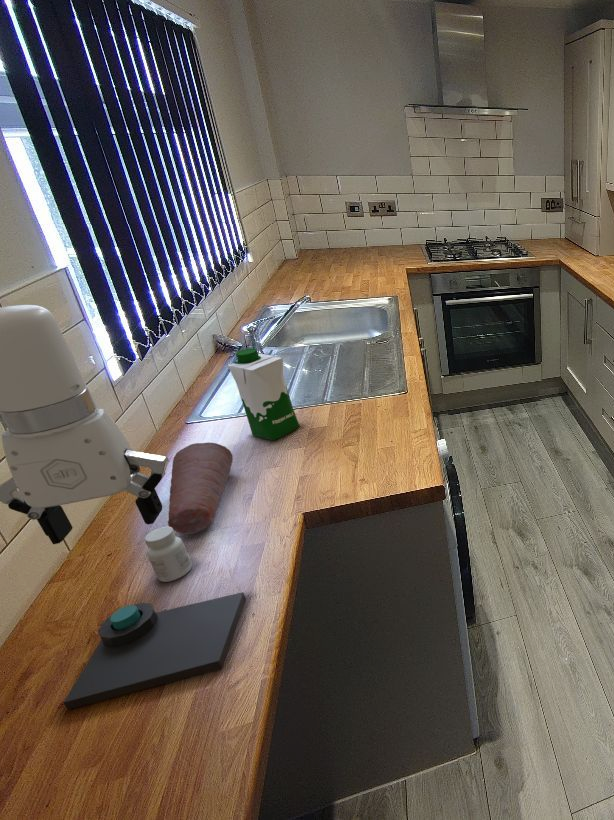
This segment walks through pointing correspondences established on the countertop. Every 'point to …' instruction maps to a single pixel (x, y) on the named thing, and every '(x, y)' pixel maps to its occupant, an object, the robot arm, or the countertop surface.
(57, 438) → the robot arm
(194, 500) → the food
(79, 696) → the scale
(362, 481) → the countertop surface
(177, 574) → the pill bottle
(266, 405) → the milk carton
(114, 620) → the button
